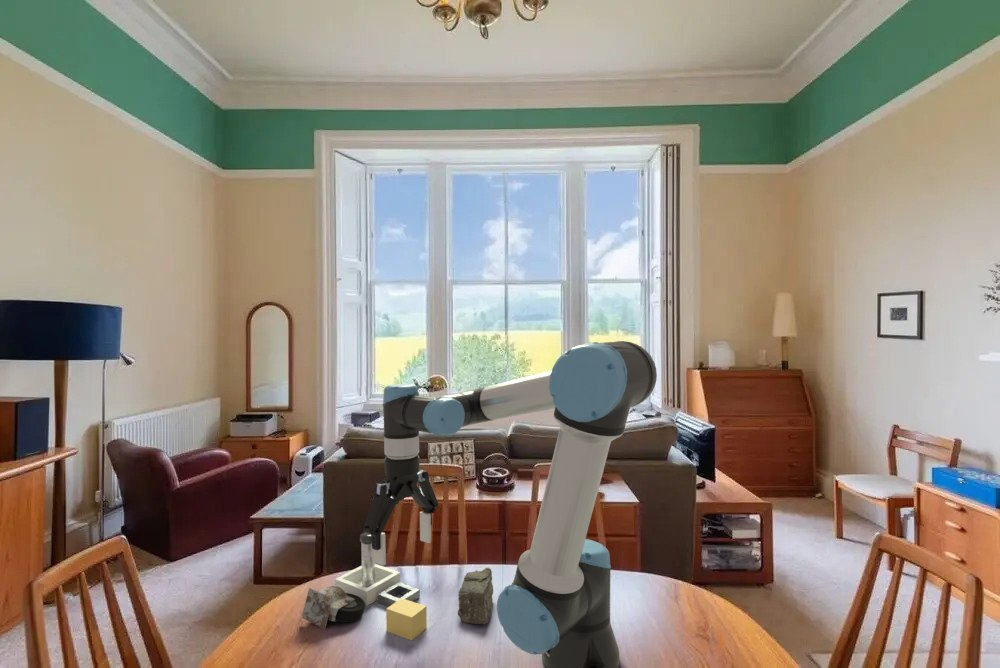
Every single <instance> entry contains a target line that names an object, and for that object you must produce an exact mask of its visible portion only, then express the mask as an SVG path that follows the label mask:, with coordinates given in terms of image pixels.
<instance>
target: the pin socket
mask: <svg viewBox="0 0 1000 668" xmlns="http://www.w3.org/2000/svg"><path fill="white" fill-rule="evenodd" d="M420 590H421V589H420V588H416V587H414V586H412V585H408V584H406V583H403V582H401V581H400V582H398V583H396V584H394V585H392V586H391V587H389V588H387V589H386V590H384V591H382V592H380V593H379V594H378V600H377V603H378V604H381V605H384V606H386V607H387V608H388V607H389V606H391V605H392V604H394V603H395V602H397V601H398V600H399V599H401V598H403V599H406V600H409V601H412V602H415V601H417V600H418V599H420V596H421V594H420V592H421V591H420ZM397 595H402V596H401V597H397Z"/></svg>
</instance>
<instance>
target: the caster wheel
mask: <svg viewBox="0 0 1000 668" xmlns="http://www.w3.org/2000/svg"><path fill="white" fill-rule="evenodd" d="M305 599H306V600H305V603H304V607H303V610H302V614H301V619H304V620H305V621H307V622H309V623H311V624H313V625H315V626H316V627H319V628H321V629H322V630H326V627H327V623H328V620H329V621H331V622H341V623H353V622H357V621H359V620H360V619H361V618H362V617H363V615H364V612H365V607H366V606H365V602H364V601H363V599H362V598H360V597H359V596H356V595H354V594H350V593H345V592H344V590H343V589H341V588H340V587H337V586H335V585H331V586H326V587H324V588H321V589H319V590H318V591H317V590H314V589H312V588H308V591H307V595H306V598H305Z"/></svg>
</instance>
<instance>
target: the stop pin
mask: <svg viewBox="0 0 1000 668" xmlns="http://www.w3.org/2000/svg"><path fill="white" fill-rule="evenodd" d="M359 541H360V542H361V543H360V542H359V543H360V544H361V545H360V546H361V549H360V551H361V566H362V586H363V587H366V588H368V587H370V586H371V585H373V584H375V564H376V563H374V549H372V535H371V534H368V533H365V532H362V533H361V534H360V535H359Z"/></svg>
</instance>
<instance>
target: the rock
mask: <svg viewBox="0 0 1000 668" xmlns="http://www.w3.org/2000/svg"><path fill="white" fill-rule="evenodd" d="M492 575H493V571H492V568H490V567H485V568H484V569H482V570H475V571H469V572H467V573H466V574H465V575H464V577H463V581H462V583H461V587H460V588H459V590H458V610H457V615H458V617H459V619H460V621H462V622H464V623H466V624H477V625H486V624H488V623H489V620H490V618H491V616H492V613H493V612H492V610H493V595H494V586H493V576H492Z"/></svg>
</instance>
